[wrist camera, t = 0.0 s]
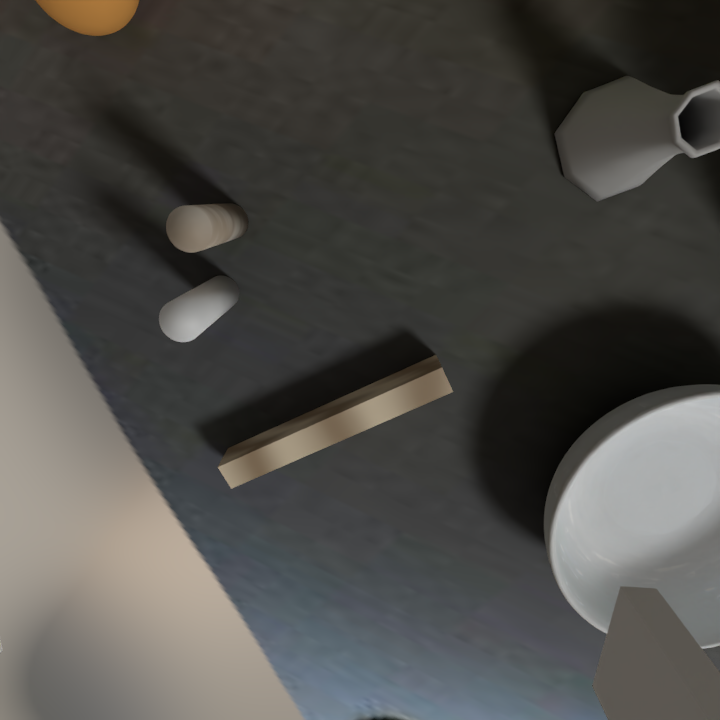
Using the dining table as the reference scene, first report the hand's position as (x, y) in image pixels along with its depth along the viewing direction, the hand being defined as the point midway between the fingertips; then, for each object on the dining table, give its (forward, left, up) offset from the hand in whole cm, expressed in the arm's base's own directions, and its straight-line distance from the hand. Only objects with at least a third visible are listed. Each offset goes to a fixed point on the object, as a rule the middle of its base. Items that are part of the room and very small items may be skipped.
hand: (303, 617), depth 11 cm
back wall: (+8, 0, -28) cm, 29 cm away
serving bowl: (+12, +26, -28) cm, 40 cm away
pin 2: (-1, -9, -28) cm, 29 cm away
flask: (-13, +17, -28) cm, 35 cm away
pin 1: (-6, -8, -28) cm, 30 cm away
